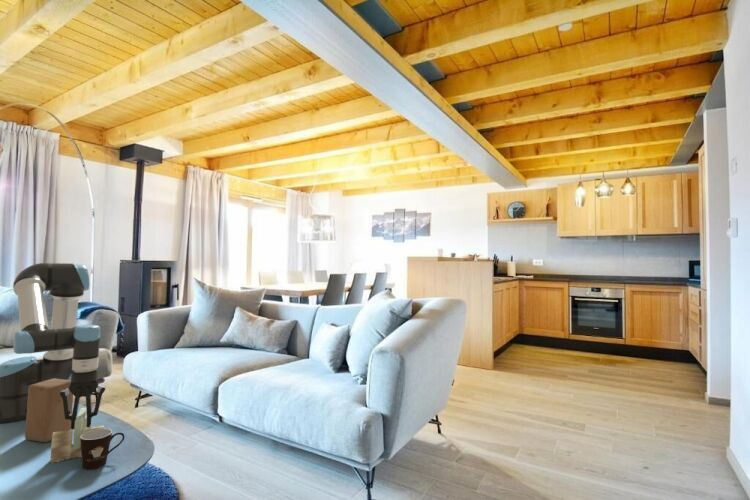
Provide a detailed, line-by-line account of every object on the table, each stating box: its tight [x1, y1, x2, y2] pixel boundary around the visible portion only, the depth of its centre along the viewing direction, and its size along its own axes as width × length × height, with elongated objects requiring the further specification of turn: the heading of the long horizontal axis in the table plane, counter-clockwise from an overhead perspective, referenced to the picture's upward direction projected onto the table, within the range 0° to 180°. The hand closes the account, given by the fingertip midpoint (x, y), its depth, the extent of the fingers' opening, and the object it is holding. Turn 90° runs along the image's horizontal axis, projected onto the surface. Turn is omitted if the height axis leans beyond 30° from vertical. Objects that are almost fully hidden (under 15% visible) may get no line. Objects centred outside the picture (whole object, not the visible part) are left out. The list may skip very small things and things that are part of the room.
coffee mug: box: [80, 427, 126, 471], centre depth 130 cm, size 12×9×10 cm
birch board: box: [49, 424, 105, 464], centre depth 134 cm, size 14×4×9 cm, turn 120°
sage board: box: [72, 406, 87, 449], centre depth 137 cm, size 14×2×9 cm, turn 30°
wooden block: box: [24, 378, 74, 443], centre depth 148 cm, size 10×10×20 cm
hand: (80, 437), depth 138 cm, fingers closed on sage board, 2 cm apart
